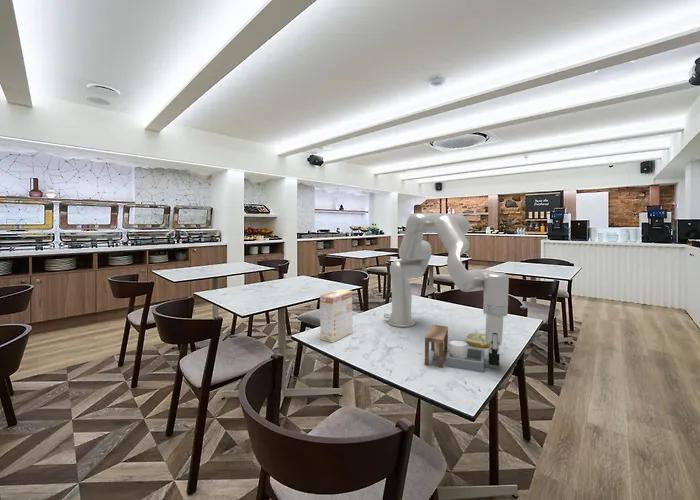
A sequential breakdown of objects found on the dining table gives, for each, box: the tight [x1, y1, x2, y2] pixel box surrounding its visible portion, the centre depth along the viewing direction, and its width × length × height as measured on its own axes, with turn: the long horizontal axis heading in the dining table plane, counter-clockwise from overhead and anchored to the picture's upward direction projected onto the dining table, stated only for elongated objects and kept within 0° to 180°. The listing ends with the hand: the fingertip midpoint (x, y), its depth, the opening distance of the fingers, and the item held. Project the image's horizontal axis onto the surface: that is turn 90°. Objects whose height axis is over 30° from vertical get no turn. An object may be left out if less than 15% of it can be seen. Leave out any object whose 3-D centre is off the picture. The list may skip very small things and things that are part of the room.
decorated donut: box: [464, 332, 490, 349], centre depth 132 cm, size 10×11×4 cm
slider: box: [432, 342, 501, 373], centre depth 114 cm, size 22×12×6 cm, turn 67°
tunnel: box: [424, 324, 449, 368], centre depth 118 cm, size 6×15×10 cm, turn 157°
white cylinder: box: [448, 339, 470, 360], centre depth 115 cm, size 7×7×7 cm
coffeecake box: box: [319, 288, 354, 343], centre depth 142 cm, size 15×7×20 cm, turn 145°
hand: (493, 360), depth 111 cm, fingers open, 4 cm apart
